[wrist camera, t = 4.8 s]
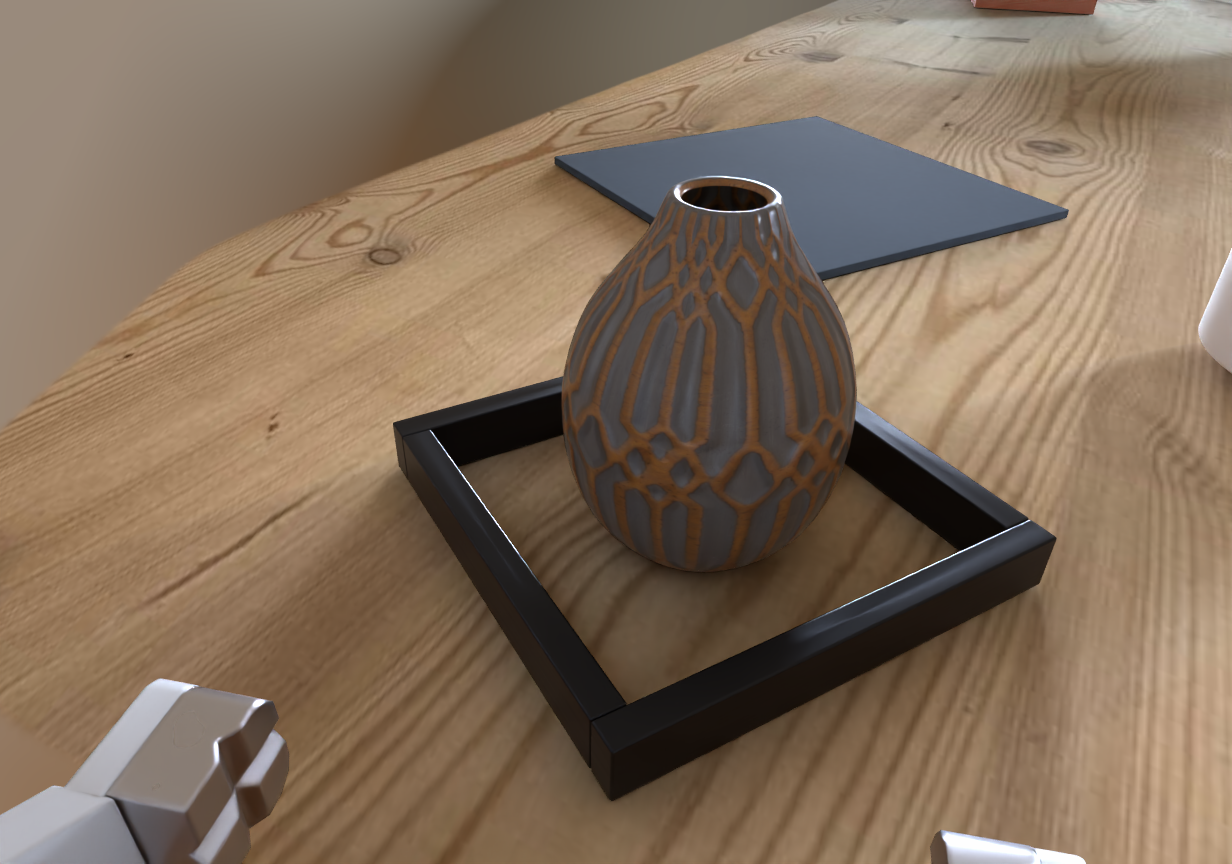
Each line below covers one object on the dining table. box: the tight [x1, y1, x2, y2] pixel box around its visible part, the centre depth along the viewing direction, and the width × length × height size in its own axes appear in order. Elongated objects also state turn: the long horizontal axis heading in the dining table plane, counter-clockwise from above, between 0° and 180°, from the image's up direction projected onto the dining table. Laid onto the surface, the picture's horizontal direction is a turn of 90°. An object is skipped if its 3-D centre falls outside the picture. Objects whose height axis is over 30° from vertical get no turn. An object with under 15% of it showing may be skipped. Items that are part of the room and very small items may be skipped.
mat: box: [555, 116, 1069, 280], centre depth 45 cm, size 18×18×1 cm
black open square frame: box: [393, 377, 1056, 801], centre depth 23 cm, size 12×12×2 cm
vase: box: [562, 177, 857, 572], centre depth 21 cm, size 7×7×9 cm
